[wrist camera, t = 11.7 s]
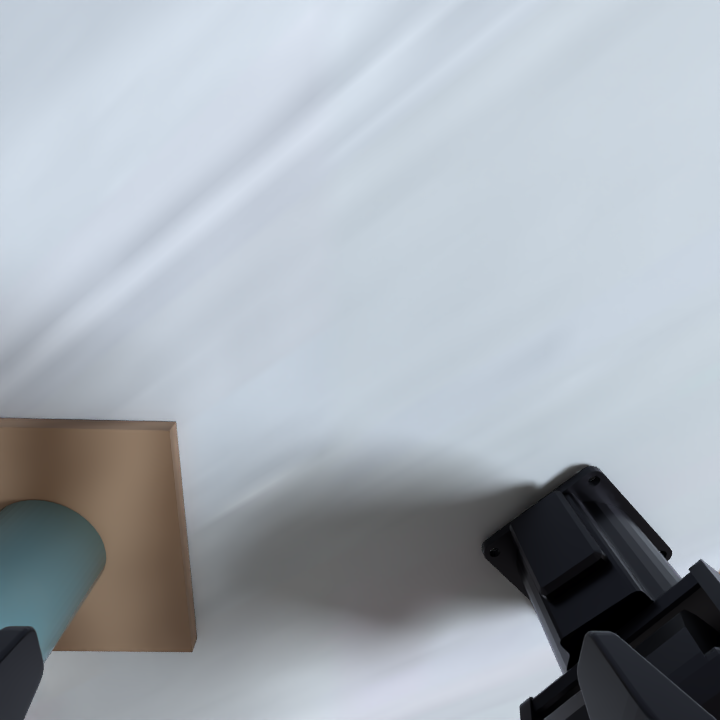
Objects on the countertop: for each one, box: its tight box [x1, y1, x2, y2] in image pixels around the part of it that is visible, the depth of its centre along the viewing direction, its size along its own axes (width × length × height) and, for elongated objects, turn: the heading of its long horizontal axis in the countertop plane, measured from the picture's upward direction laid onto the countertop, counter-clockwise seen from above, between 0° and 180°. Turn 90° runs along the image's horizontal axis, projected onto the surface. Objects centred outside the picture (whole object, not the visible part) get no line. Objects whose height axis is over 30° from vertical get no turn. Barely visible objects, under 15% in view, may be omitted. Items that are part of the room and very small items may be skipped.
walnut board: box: [0, 418, 197, 652], centre depth 23 cm, size 12×12×1 cm
